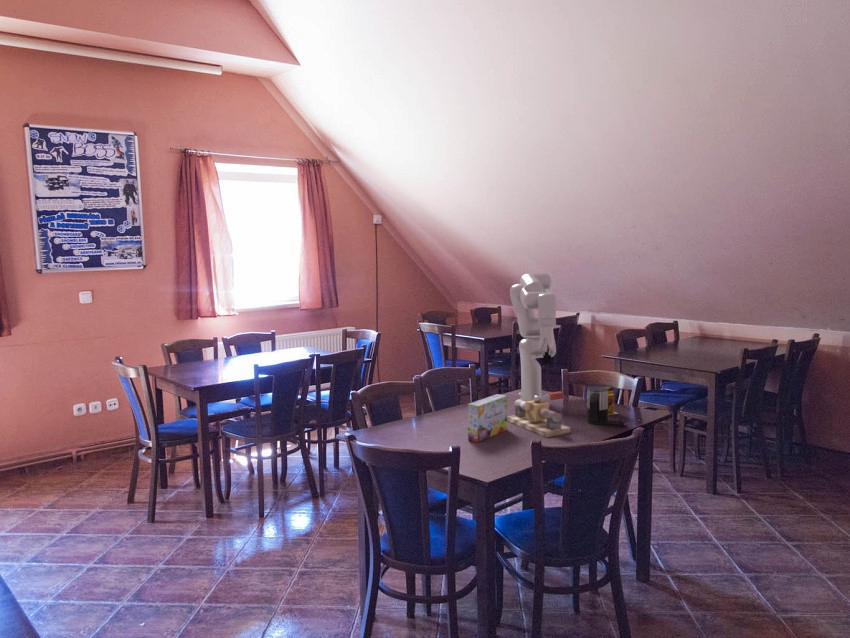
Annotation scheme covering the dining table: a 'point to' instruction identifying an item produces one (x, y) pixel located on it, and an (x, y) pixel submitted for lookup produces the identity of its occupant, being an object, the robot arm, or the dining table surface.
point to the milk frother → (599, 406)
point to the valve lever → (549, 396)
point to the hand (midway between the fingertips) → (547, 363)
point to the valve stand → (538, 418)
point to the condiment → (610, 401)
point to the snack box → (487, 417)
